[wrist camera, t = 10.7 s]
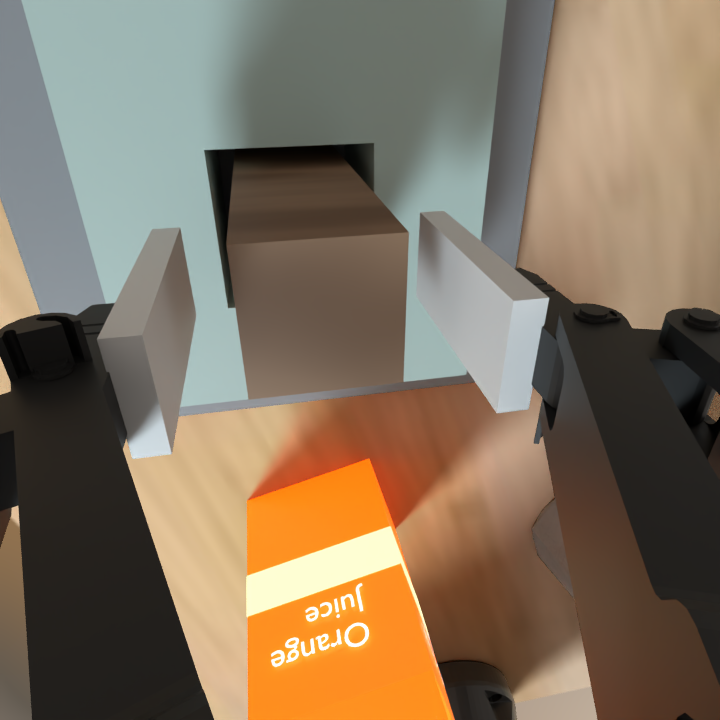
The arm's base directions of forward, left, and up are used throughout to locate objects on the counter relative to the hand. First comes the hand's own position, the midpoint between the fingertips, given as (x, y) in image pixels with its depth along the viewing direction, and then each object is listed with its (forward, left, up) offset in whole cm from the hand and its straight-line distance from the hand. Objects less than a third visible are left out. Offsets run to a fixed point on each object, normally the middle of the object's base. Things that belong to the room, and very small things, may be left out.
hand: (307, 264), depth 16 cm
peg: (0, 0, -10) cm, 10 cm away
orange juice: (-23, -1, -12) cm, 26 cm away
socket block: (0, 0, -12) cm, 12 cm away
